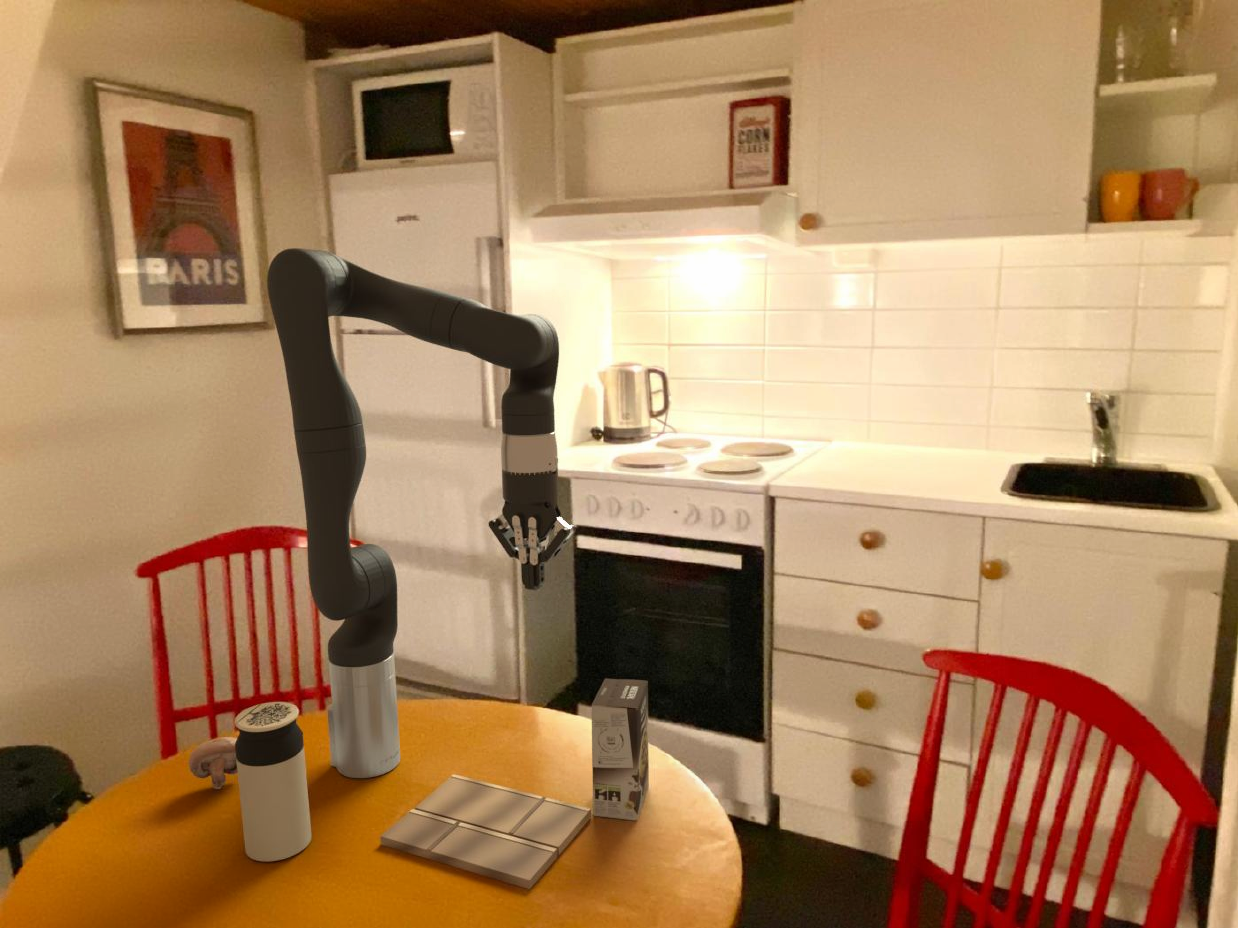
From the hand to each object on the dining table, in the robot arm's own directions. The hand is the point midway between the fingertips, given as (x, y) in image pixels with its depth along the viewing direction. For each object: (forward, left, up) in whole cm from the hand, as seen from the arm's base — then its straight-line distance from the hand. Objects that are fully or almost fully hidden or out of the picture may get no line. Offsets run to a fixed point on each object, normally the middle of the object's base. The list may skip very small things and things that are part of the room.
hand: (533, 588), depth 127 cm
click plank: (0, -10, -29) cm, 31 cm away
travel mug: (-23, -27, -29) cm, 46 cm away
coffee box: (+13, 0, -29) cm, 32 cm away
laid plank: (0, -18, -29) cm, 34 cm away
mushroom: (-41, -20, -29) cm, 54 cm away
